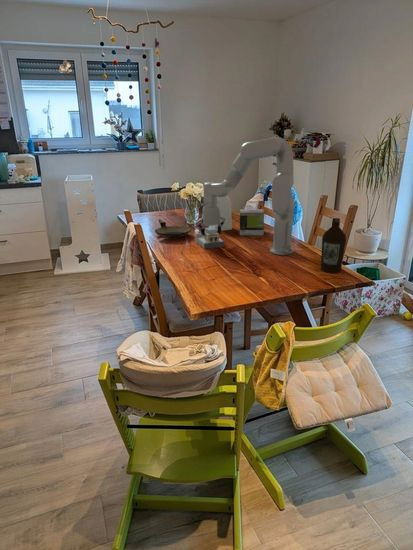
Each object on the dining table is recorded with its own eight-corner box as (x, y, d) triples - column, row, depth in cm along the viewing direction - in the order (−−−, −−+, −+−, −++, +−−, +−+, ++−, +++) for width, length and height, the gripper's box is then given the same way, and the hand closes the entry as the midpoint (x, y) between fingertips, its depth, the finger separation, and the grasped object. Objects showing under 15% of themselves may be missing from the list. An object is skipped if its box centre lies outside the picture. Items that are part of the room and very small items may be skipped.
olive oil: (322, 264, 195) (327, 215, 186) (344, 268, 190) (350, 217, 181) (316, 271, 186) (321, 220, 177) (339, 275, 182) (346, 222, 172)
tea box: (263, 231, 253) (264, 208, 247) (263, 235, 244) (264, 212, 238) (239, 231, 254) (240, 208, 249) (239, 235, 245) (239, 212, 240)
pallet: (219, 241, 223) (219, 234, 222) (208, 242, 222) (208, 235, 220) (213, 236, 232) (213, 230, 231) (202, 237, 230) (202, 231, 229)
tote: (216, 233, 224) (216, 229, 223) (208, 234, 222) (208, 230, 222) (212, 231, 229) (212, 227, 228) (205, 231, 228) (205, 228, 227)
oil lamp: (157, 244, 231) (156, 231, 228) (153, 230, 258) (152, 219, 255) (194, 241, 235) (194, 228, 232) (186, 228, 262) (186, 217, 259)
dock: (224, 246, 224) (224, 238, 222) (204, 248, 221) (204, 240, 219) (215, 239, 237) (215, 231, 235) (196, 241, 233) (196, 233, 231)
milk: (224, 225, 269) (225, 186, 259) (231, 229, 259) (232, 189, 249) (208, 227, 265) (208, 188, 255) (215, 231, 255) (215, 191, 245)
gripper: (197, 207, 214) (198, 237, 220) (227, 204, 219) (227, 234, 225) (193, 204, 220) (194, 234, 226) (222, 202, 225) (222, 231, 231)
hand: (211, 234), depth 226 cm, fingers open, 9 cm apart
